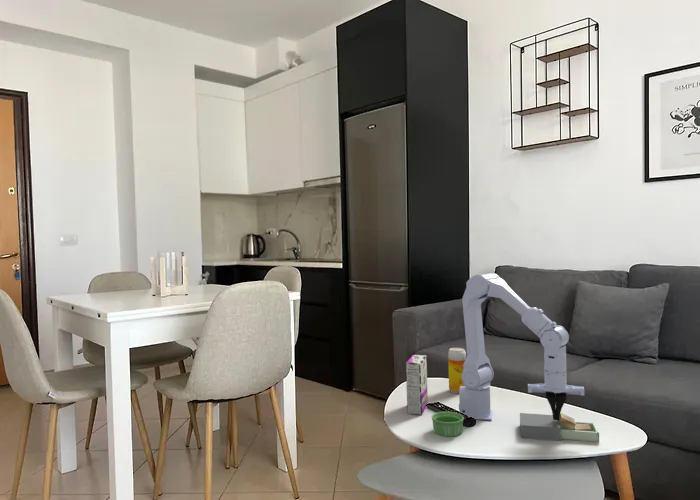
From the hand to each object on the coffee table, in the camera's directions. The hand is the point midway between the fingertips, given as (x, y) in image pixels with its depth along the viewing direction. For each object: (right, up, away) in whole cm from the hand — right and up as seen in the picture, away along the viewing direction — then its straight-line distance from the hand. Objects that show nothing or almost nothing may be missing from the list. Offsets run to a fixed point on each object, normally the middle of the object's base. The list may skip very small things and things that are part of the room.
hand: (555, 419), depth 147 cm
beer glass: (-19, -4, +41) cm, 46 cm away
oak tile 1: (+2, -1, -1) cm, 3 cm away
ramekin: (-29, -5, +4) cm, 30 cm away
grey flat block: (-4, -4, +1) cm, 6 cm away
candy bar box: (-36, -5, +23) cm, 43 cm away
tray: (+6, -4, -1) cm, 7 cm away
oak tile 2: (+6, -2, -2) cm, 7 cm away
